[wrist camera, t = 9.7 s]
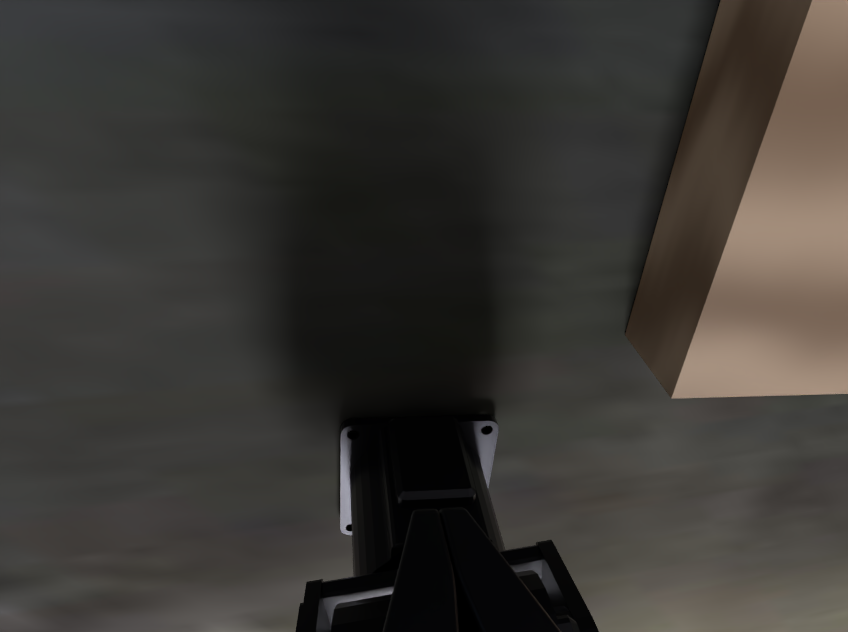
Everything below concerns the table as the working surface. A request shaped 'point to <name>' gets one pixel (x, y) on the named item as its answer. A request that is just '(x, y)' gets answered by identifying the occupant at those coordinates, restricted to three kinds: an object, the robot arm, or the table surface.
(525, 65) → the table surface
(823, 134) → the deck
